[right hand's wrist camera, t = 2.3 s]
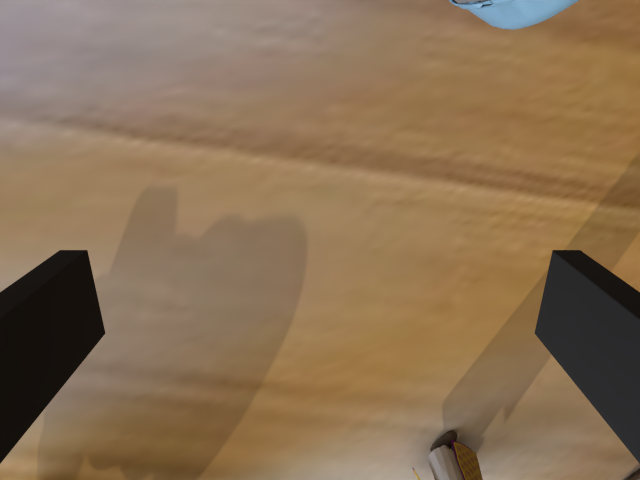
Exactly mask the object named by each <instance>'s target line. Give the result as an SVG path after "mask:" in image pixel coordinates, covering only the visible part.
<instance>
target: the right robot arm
mask: <svg viewBox="0 0 640 480" xmlns="http://www.w3.org/2000/svg"><path fill="white" fill-rule="evenodd" d="M449 1H450V2H451V3H452V4H454V5H455V6H459V7H461V8H463V9H468V10H469V11H471V12H472V13H474V14H475V15H476V16H478V17H479V18H481V19H482V20H484V21H485V22H487V23H488V24H490V25H492V26H494V27H498V28H503V29H520V28H525V27H528V26H532V25H534V24H537V23H540V22H542V21H544V20H546V19H548V18H551V17H552V16H554V15H556V14H558V13H559V12H561V11H563V10H565V9H566V8H568V7H569V6H571V5H572V4H574V3H576V2H577V1H579V0H449ZM104 334H105V330H104V325H103V321H102V316H101V311H100V307H99V302H98V298H97V293H96V288H95V284H94V279H93V275H92V270H91V265H90V261H89V256H88V252H87V250H60V251H58V252H57V253H56V254H54V255H53V256H51V257H50V258H48V259H47V260H46V261H44V262H43V263H41V264H40V265H39V266H37V267H36V268H34V269H33V270H31V271H30V272H29V273H27V274H26V275H24V276H23V277H22V278H20V279H19V280H17V281H16V282H14V283H13V284H12V285H10V286H9V287H7V288H6V289H5V290H3V291H2V292H0V463H1V462H2V461H3V459H4V458H5V457H6V456H7V455H8V453H9V452H10V451H11V450H12V448H13V447H14V446H15V445H16V443H17V442H18V441H19V440H20V438H21V437H22V436H23V435H24V433H25V432H26V431H27V430H28V428H29V427H30V426H31V425H32V424H33V422H34V421H35V420H36V419H37V417H38V416H39V415H40V414H41V412H42V411H43V410H44V409H45V407H46V406H47V405H48V404H49V402H50V401H51V400H52V399H53V397H54V396H55V395H56V394H57V393H58V391H59V390H60V389H61V388H62V386H63V385H64V384H65V383H66V381H67V380H68V379H69V378H70V376H71V375H72V374H73V373H74V371H75V370H76V369H77V368H78V366H79V365H80V364H81V363H82V362H83V360H84V359H85V358H86V357H87V355H88V354H89V353H90V352H91V350H92V349H93V348H94V347H95V345H96V344H97V343H98V342H99V340H100V339H101V338H102V337H103V335H104ZM535 334H536V335H537V337H538V338H539V339H540V340H541V342H542V343H543V344H544V345H545V347H546V348H547V349H548V350H549V352H550V353H551V354H552V355H553V357H554V358H555V359H556V360H557V361H558V363H559V364H560V365H561V366H562V368H563V369H564V370H565V371H566V373H567V374H568V375H569V376H570V378H571V379H572V380H573V381H574V383H575V384H576V385H577V386H578V388H579V389H580V390H581V391H582V393H583V394H584V395H585V396H586V397H587V399H588V400H589V401H590V402H591V404H592V405H593V406H594V407H595V409H596V410H597V411H598V412H599V414H600V415H601V416H602V417H603V419H604V420H605V421H606V422H607V424H608V425H609V426H610V427H611V428H612V430H613V431H614V432H615V433H616V435H617V436H618V437H619V438H620V440H621V441H622V442H623V443H624V445H625V446H626V447H627V448H628V450H629V451H630V452H631V453H632V455H633V456H634V457H635V458H636V459H637V461H638V462H639V463H640V292H638V291H637V290H635V289H634V288H633V287H631V286H630V285H628V284H627V283H626V282H624V281H623V280H621V279H620V278H618V277H617V276H616V275H614V274H613V273H611V272H610V271H609V270H607V269H606V268H604V267H603V266H601V265H600V264H599V263H597V262H596V261H594V260H593V259H592V258H590V257H589V256H587V255H586V254H584V253H583V252H582V251H580V250H553V252H552V256H551V261H550V265H549V270H548V275H547V279H546V284H545V288H544V293H543V298H542V302H541V307H540V311H539V316H538V321H537V325H536V330H535Z"/></svg>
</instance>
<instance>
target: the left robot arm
mask: <svg viewBox="0 0 640 480" xmlns="http://www.w3.org/2000/svg"><path fill="white" fill-rule="evenodd" d="M626 480H640V470H638V471H637V472H635V473H634V474H632V475H631V476H630V477H628V478H627V479H626Z"/></svg>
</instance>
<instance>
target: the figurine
mask: <svg viewBox="0 0 640 480" xmlns="http://www.w3.org/2000/svg"><path fill="white" fill-rule="evenodd" d="M456 439H457V434H456V433H455V432H454V431H450V432H447V433H446V434H444V435H443V436H441V437H440V438H439V439H438V440H437V441H436V442H435V443H434V444H433V445H432V447H431V449H430V450H431V454H430V455H429V464H430V467H431V470H432V472H433V475H434V478H435V480H483V479H482V475H481V471H480V467H479V463H478V459H477V456H476V454H475V453H474V452H473V451H472V450H471V449H469V448H468V447H466V446H465V445H463V444H461V443H458V442H456ZM451 447H453V450H451V449H450V448H451ZM412 468H413V467H412ZM413 471H414V473H415V475H416V477H417V478H418V480H420V478H419V477H418V475H417V473H416V472H415V470H414V469H413Z"/></svg>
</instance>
